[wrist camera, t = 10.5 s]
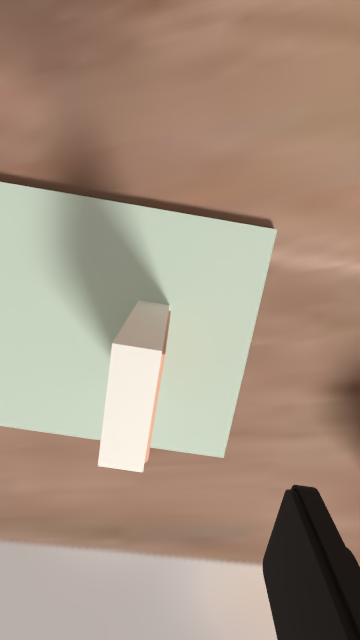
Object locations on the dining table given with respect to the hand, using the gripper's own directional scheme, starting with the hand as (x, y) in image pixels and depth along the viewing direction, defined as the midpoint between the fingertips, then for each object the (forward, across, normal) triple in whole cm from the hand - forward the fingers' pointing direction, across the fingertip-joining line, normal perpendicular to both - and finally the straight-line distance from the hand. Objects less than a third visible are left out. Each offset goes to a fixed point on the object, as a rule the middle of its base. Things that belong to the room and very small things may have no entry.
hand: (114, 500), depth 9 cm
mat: (+16, +3, +1) cm, 16 cm away
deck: (+15, +1, +1) cm, 15 cm away
